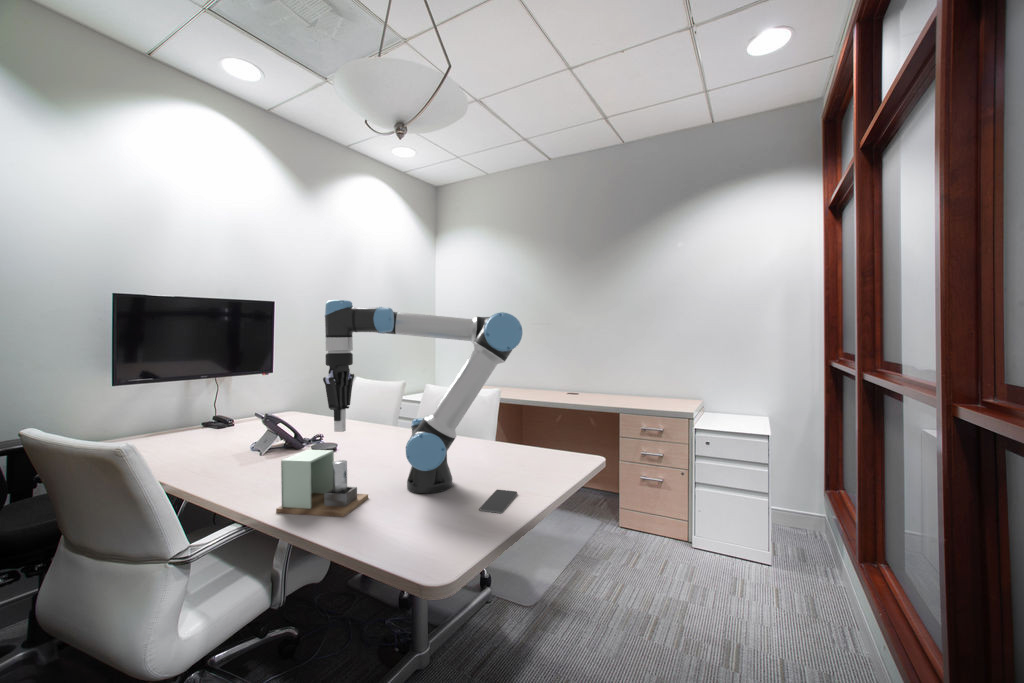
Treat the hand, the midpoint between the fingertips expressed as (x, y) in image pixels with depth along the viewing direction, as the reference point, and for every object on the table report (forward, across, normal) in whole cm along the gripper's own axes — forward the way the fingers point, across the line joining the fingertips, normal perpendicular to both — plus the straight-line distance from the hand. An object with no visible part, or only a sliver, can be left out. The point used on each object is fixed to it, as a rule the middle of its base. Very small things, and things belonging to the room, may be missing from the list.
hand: (339, 431), depth 125 cm
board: (+22, 0, -5) cm, 23 cm away
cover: (+21, 0, -10) cm, 24 cm away
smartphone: (+23, -10, +46) cm, 53 cm away
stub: (+21, 0, 0) cm, 21 cm away
